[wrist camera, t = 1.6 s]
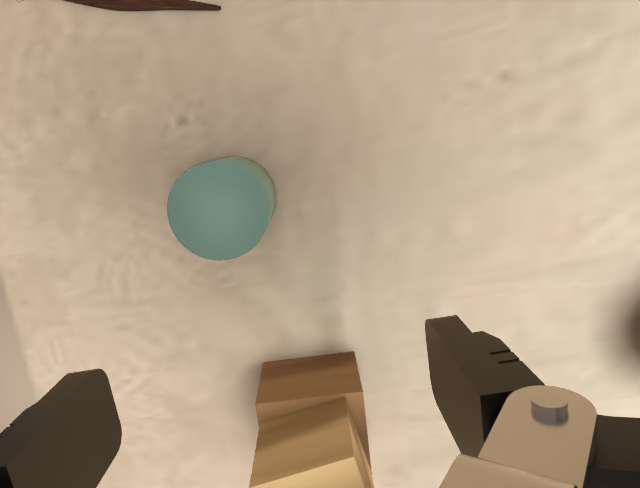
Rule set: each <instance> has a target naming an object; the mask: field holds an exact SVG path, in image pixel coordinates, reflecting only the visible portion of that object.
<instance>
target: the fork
mask: <svg viewBox="0 0 640 488" xmlns="http://www.w3.org/2000/svg"><path fill="white" fill-rule="evenodd" d="M16 1H17V2H22V1H24V0H16ZM65 1H69V2H74V3H79V4H83V5H88V6H93V7H98V8H104V9H110V10H118V11H151V10H221V6H217V5H212V4H207V3H201V2H196V1H190V0H65Z"/></svg>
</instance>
